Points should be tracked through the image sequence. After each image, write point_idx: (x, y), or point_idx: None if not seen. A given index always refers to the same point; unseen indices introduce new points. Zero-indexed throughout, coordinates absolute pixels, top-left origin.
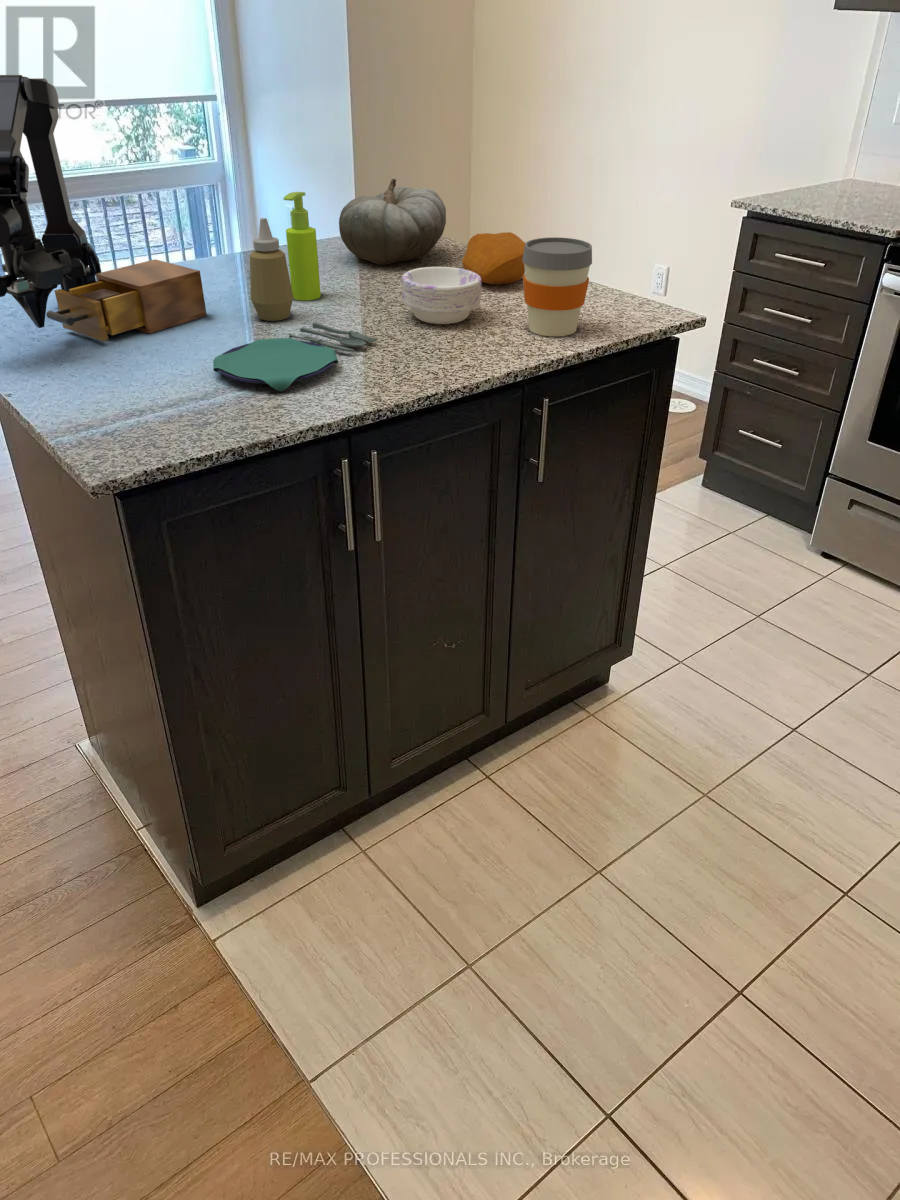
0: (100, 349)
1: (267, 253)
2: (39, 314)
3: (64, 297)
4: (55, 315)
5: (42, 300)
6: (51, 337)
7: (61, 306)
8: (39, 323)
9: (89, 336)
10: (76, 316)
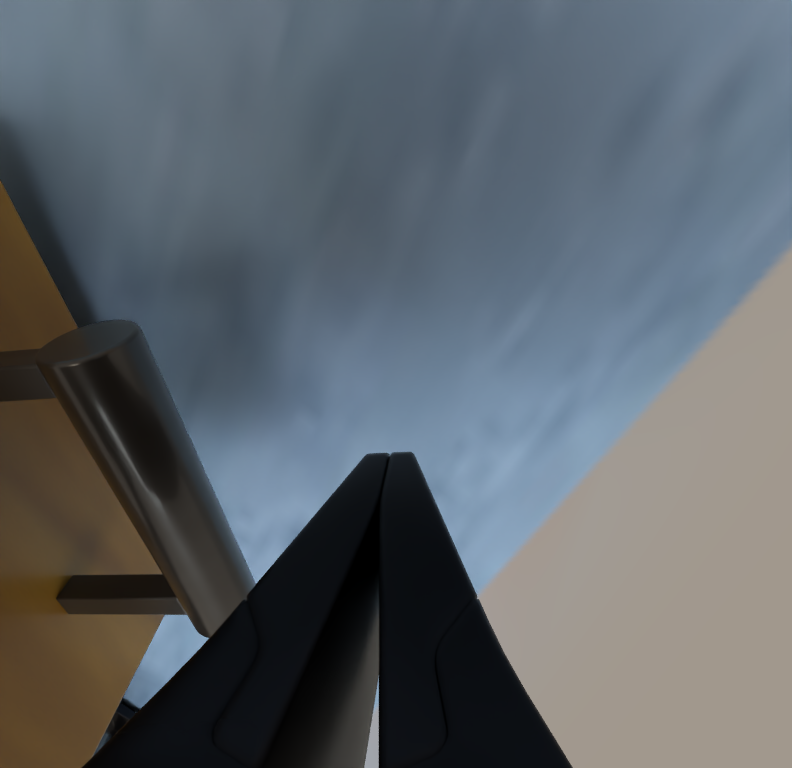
0: (45, 61)
1: None
2: (366, 557)
3: (4, 717)
4: (195, 541)
5: (232, 724)
6: (290, 517)
7: (106, 663)
8: (406, 477)
9: (72, 318)
10: (42, 503)
